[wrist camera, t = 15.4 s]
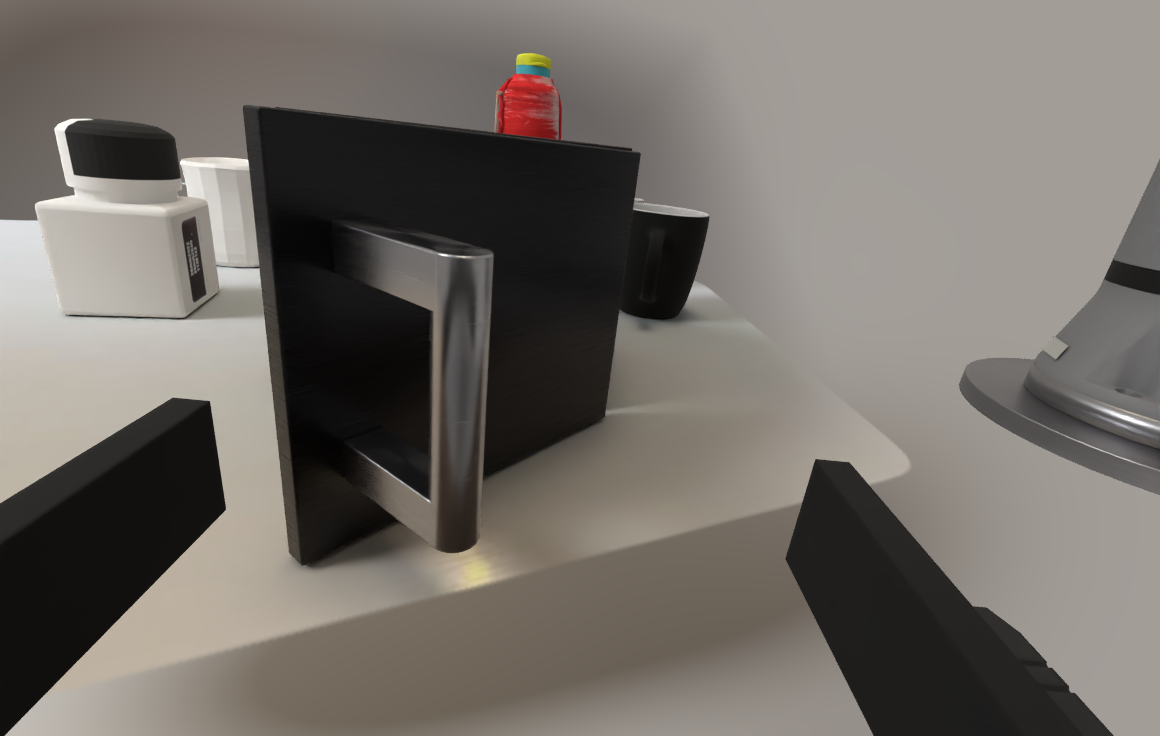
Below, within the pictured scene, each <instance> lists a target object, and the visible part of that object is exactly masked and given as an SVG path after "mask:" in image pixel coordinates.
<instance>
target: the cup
mask: <svg viewBox="0 0 1160 736" xmlns="http://www.w3.org/2000/svg"><path fill="white" fill-rule="evenodd" d="M180 164H181V167H182V170H183V173H184V177H185V182H186V187H187V193H188V197H194V198H200V199H204V200H206V201H207V203H208V207H209V214H210V222H211V229H212V237H213V244H214V252H215V259H216V265H219V266H229V267H259V258H258V248H257V239H256V229H255V219H254V210H253V200H252V191H251V181H250V172H249V162H248V160H245V159H237V158H200V157H195V158H186V159H182V160H181V162H180Z"/></svg>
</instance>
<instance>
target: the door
mask: <svg viewBox="0 0 1160 736" xmlns="http://www.w3.org/2000/svg"><path fill="white" fill-rule="evenodd" d="M243 114H244V123H245V132H246V143H247V152H248V162H249V172H250V181H251V191H252V200H253V210H254V219H255V229H256V239H257V248H258V258H259V267H260V277H261V287H262V296H263V306H264V315H265V325H266V334H267V344H268V354H269V363H270V373H271V382H272V392H273V401H274V411H275V421H276V430H277V440H278V449H279V459H280V469H281V478H282V488H283V497H284V507H285V516H286V526H287V536H288V545H289V553H290V554H291V555H292V556H293V557H294V558H295V559H296V560H297V561H298V562H299V563H300V564H301V565H302V566H303V565H306V564H308V563H310V562H312V561H314V560H316V559H318V558H320V557H322V556H324V555H326V554H328V553H330V552H332V551H334V550H336V549H338V548H340V547H342V546H344V545H346V544H348V543H350V542H353V541H355V540H357V539H359V538H361V537H363V536H365V535H367V534H369V533H371V532H373V531H375V530H377V529H379V528H381V527H383V526H385V525H387V524H389V523H391V522H393V521H395V520H399V521H400V522H401V523H403V524H404V525H405V526H407V527H408V528H409V529H410V530H412V531H413V532H414V533H416V534H417V535H418V536H420V537H421V538H422V539H423V540H425V541H426V542H427V543H429V544H430V545H431V546H432V547H434V548H435V549H437V550H439V551H441V552H446V553H459V552H463V551H466V550H468V549H470V548H472V547H473V546H474V545H475V544H476V543H477V542H478V540H479V538H480V525H481V505H482V485H483V477H484V476H486V475H488V474H490V473H492V472H494V471H496V470H498V469H500V468H502V467H504V466H506V465H508V464H510V463H512V462H514V461H517V460H519V459H521V458H523V457H525V456H527V455H529V454H531V453H533V452H535V451H537V450H539V449H541V448H543V447H545V446H547V445H549V444H551V443H553V442H555V441H557V440H559V439H561V438H563V437H565V436H567V435H569V434H571V433H573V432H575V431H577V430H579V429H581V428H583V427H585V426H587V425H589V424H591V423H593V422H595V421H598V420H600V419H602V418H604V416H605V410H606V403H607V396H608V389H609V381H610V374H611V367H612V359H613V352H614V345H615V338H616V330H617V323H618V316H619V308H620V301H621V294H622V287H623V279H624V272H625V265H626V257H627V250H628V243H629V236H630V228H631V221H632V214H633V207H634V199H635V191H636V184H637V176H638V170H639V162H640V155H641V153H640V152H633V151H625V150H617V149H609V148H601V147H592V146H584V145H576V144H568V143H559V142H551V141H543V140H535V139H526V138H518V137H510V136H502V135H494V134H485V133H477V132H469V131H461V130H452V129H444V128H436V127H428V126H419V125H411V124H403V123H395V122H386V121H378V120H370V119H362V118H353V117H345V116H337V115H329V114H320V113H312V112H304V111H296V110H287V109H279V108H271V107H263V106H253V105H244V106H243Z"/></svg>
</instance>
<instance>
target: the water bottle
mask: <svg viewBox="0 0 1160 736" xmlns="http://www.w3.org/2000/svg"><path fill="white" fill-rule="evenodd" d="M516 66H517V69H516V74H514V75H513V77H512V78H509V79H508V80H507V81H506V83H504V84H503V85H502V86H501V88H500V89H499V91H496V93H497V94H496V96H497V99H496V112H495V132H496V133H497V122H498V121H497V120H498V118H499V127H498V133H504V134H513V135H522V136H530V137H539V138H548V139H556V140H557V134H558V122H559V139H558V140H561V114H562V113H561V111H562V109H561V101H560V96H559V93H558V91H557V89H556V87H555V86H554V83H553V80H552V79H550V70H551V60H550V59H549V58H547V57H545V56H542V55H538V54H532V53H527V54H519V55H518V56H517V61H516ZM500 95H501V96H500ZM499 99H500V111H499V112H498V102H499Z"/></svg>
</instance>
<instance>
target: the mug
mask: <svg viewBox="0 0 1160 736" xmlns="http://www.w3.org/2000/svg"><path fill="white" fill-rule="evenodd" d="M708 223H709V215H708V214H707V213H704V212H700V211H695V210H690V209H685V208H679V207H672V206H664V205H656V204H646V203H634V207H633V214H632V221H631V228H630V236H629V243H628V250H627V257H626V265H625V272H624V279H623V287H622V294H621V301H620V308H619V309H621V310H622V311H624V312H626V313H629V314H632V315H636V316H640V317H645V318H655V319H666V318H672V317H675V316H677V315H678V314H679V313H680V311H681V310H682V308H683V307H684V305H685V303H686V300H687V298H688V295H689V293H690V290H691V287H692V284H693V282H694V278H695V275H696V272H697V268H698V265H699V262H700V258H701V254H702V250H703V246H704V242H705V238H706V233H707V229H708Z"/></svg>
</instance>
